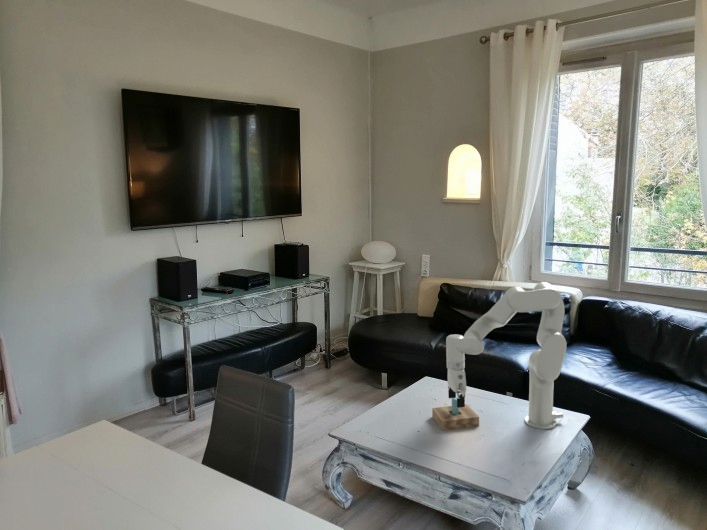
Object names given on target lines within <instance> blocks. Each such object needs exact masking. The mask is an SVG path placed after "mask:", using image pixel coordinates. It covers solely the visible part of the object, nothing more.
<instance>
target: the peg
mask: <svg viewBox="0 0 707 530" xmlns="http://www.w3.org/2000/svg"><path fill="white" fill-rule="evenodd" d="M457 398H458V397H456V398H451V406H452V415H459V408H458V407H457Z"/></svg>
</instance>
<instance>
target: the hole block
mask: <svg viewBox="0 0 707 530" xmlns="http://www.w3.org/2000/svg"><path fill="white" fill-rule="evenodd" d="M431 409H432V410H431V411H432V413H431V414H432V418H433V420H434V421H435V422H436V423H437V425H438V426H439V428H440V429H441V430H442V431H446V430H447V431H449V430H457V429H465V428H473V427H479V426H480V416H479V415H478V414H477V413H476V412H475V411H474V410H473V409H472V408H471V407H470V406H469V405H468V403H467V404H466V403H465V407H460V408H459V415H452V405H448V406H440V407H432V408H431Z"/></svg>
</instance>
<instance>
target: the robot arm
mask: <svg viewBox="0 0 707 530" xmlns="http://www.w3.org/2000/svg"><path fill="white" fill-rule="evenodd" d="M540 311H542V312H541V317H540V323H539V325H538V330H537V334H536V342H537V344H538V345H539V346H540V349H536V350H534V351H532V352H531V354H530V355H529V358H528V370H529V388H528V389H529V390H528V391H529V393H528V414H527V415H526V416H525V417H524V423H525V424H526V425H527V426H529V427H531V428H534V429H538V430H550V429H551V430H552V429H553V428H555V427H556V426H557V419H560V418H564V413H563V412H559V413H558V412H557V411H554V410H553V408H554V389H555V388H554V387H555V386H554V384H555V383H554V381H556V380H557V379H558V377H559V376H560V373H561V371H562V368H563V364H564V359H565V356H566V352H567V341H566V338H565V336H564V334H563V333H562V330H563V329H562V328H563V326H564V325H563V323H564V319H565V312H566V311H565V302H564V300H563V298H562V295H561V293H560V292H559V290H558V289H557V288H556V287H554V286H553V285H552V284H550V283H549V282H545V281H541V282H538V283H536V285H535V286H534V288H533V290H524V289H523V288H522V287H520V286H512V287H510V288H509V289H507V291H506V292H505V293H504V294H503V295H502V296H501V297H500V298H499V299H498V300H497V301H496V303H495V304H494V305H493V306H491V308H490V309H489V310H488V311H487V312H485V314H484V313H483V315H482V316H480V317H479V318H478V319H477V320H475V321H474V322H473V324H472V325H471V326H470V327H469V328H468V329H467V330H466V331H465V333H464V335H462V334H458V333H457V334H456V333H455V334H449V335H448V336H446V339H445V347H446V348H445V352H446V353H445V355H446V356H445V357H446V369H447V385H448V386H447V388H448V399H452V398H457V407H458V408H460V407H465V404H466V403H465V401H466V400H465V399H466V392H467V379H466V372H465V367H466V366H465V365H466V363H465V362H466V361H465V360H466V357H465V354H467V355H474V356H475V355H480V354H481V353H482V352H483V351H484V350H485V343H484V341H483V339H484V338H486V336H487V335H488V334H489V333H491V331H493V330H494V329H497V328H501V327H504V326H505V325H507V324H508V322H509V321H511V319H512V318H513V317H514V316H515V315H516V314H517V313H531V312H532V313H533V312H540Z"/></svg>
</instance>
